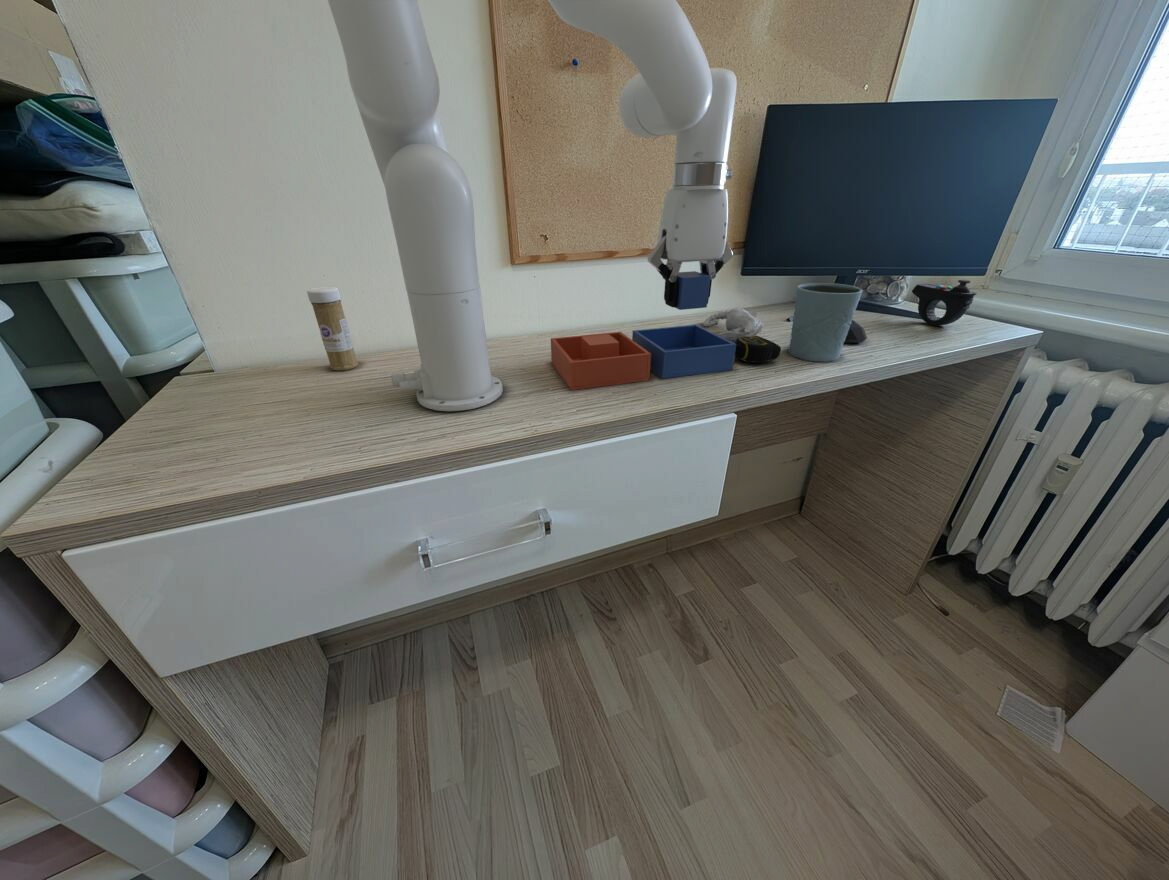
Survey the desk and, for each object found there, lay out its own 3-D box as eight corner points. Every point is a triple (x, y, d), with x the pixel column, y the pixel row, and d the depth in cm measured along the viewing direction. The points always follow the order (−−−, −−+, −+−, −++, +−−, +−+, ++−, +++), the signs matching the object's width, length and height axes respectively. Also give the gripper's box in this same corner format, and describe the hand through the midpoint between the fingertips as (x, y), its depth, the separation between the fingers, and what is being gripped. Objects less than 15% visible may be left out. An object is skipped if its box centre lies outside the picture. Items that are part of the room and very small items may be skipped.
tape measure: (780, 364, 77) (784, 343, 75) (747, 368, 75) (751, 347, 73) (755, 352, 82) (759, 332, 81) (724, 356, 81) (727, 336, 79)
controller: (950, 331, 93) (970, 283, 88) (899, 318, 104) (914, 273, 99) (965, 329, 95) (986, 281, 90) (913, 316, 105) (929, 272, 100)
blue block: (679, 310, 71) (682, 277, 68) (665, 303, 75) (668, 272, 72) (706, 307, 72) (710, 275, 69) (691, 301, 76) (694, 271, 74)
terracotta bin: (571, 390, 67) (570, 362, 65) (551, 362, 78) (550, 338, 76) (649, 380, 70) (651, 353, 68) (620, 355, 81) (620, 331, 79)
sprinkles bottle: (326, 371, 75) (300, 291, 68) (338, 362, 79) (314, 285, 72) (352, 371, 75) (329, 290, 68) (363, 362, 79) (342, 285, 72)
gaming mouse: (818, 324, 99) (822, 306, 97) (872, 343, 87) (879, 323, 85) (795, 327, 97) (799, 308, 95) (847, 346, 85) (853, 326, 83)
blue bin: (662, 378, 71) (664, 352, 69) (631, 354, 82) (632, 330, 80) (732, 369, 74) (736, 344, 72) (693, 347, 85) (696, 324, 83)
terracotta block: (590, 374, 71) (590, 345, 69) (581, 364, 76) (581, 336, 73) (618, 371, 73) (619, 342, 70) (608, 361, 77) (608, 334, 74)
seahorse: (682, 320, 99) (736, 330, 81) (724, 298, 100) (786, 303, 82) (688, 341, 101) (741, 355, 83) (729, 319, 103) (791, 329, 85)
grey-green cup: (846, 365, 76) (868, 294, 70) (784, 359, 79) (800, 291, 73) (837, 348, 84) (856, 283, 78) (781, 343, 87) (795, 280, 81)
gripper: (734, 179, 69) (718, 296, 78) (635, 180, 65) (630, 303, 74) (764, 177, 63) (743, 305, 72) (657, 178, 59) (649, 313, 68)
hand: (686, 303), depth 73 cm, fingers closed on blue block, 5 cm apart
